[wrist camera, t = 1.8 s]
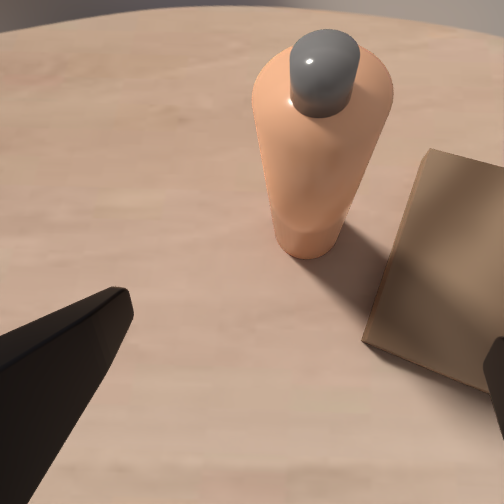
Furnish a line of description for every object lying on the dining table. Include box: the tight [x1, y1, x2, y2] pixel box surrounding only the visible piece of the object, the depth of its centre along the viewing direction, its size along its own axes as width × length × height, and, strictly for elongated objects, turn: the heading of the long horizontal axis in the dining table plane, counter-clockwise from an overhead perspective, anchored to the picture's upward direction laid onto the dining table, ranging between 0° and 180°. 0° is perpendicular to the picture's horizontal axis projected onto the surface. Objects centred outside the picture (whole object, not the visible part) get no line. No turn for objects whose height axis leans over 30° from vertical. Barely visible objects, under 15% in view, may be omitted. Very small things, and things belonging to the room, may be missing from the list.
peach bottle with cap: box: [252, 29, 394, 259], centre depth 16 cm, size 5×5×14 cm
